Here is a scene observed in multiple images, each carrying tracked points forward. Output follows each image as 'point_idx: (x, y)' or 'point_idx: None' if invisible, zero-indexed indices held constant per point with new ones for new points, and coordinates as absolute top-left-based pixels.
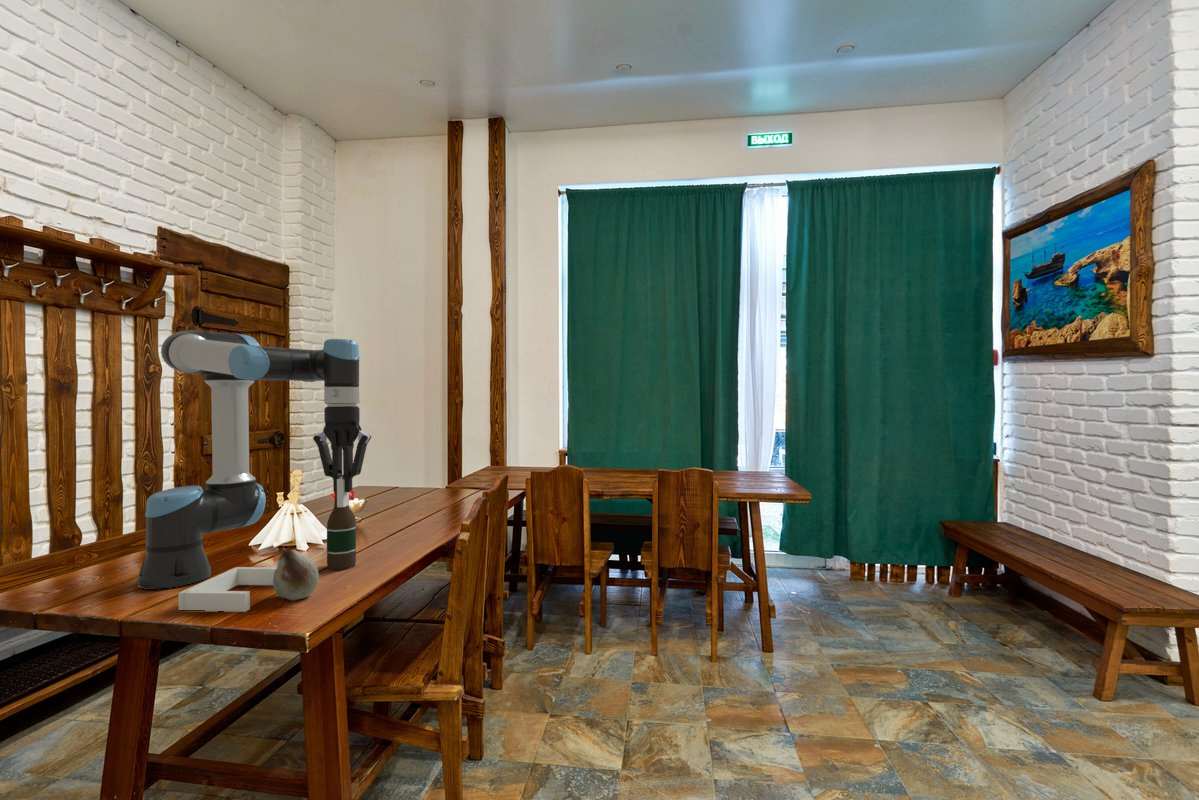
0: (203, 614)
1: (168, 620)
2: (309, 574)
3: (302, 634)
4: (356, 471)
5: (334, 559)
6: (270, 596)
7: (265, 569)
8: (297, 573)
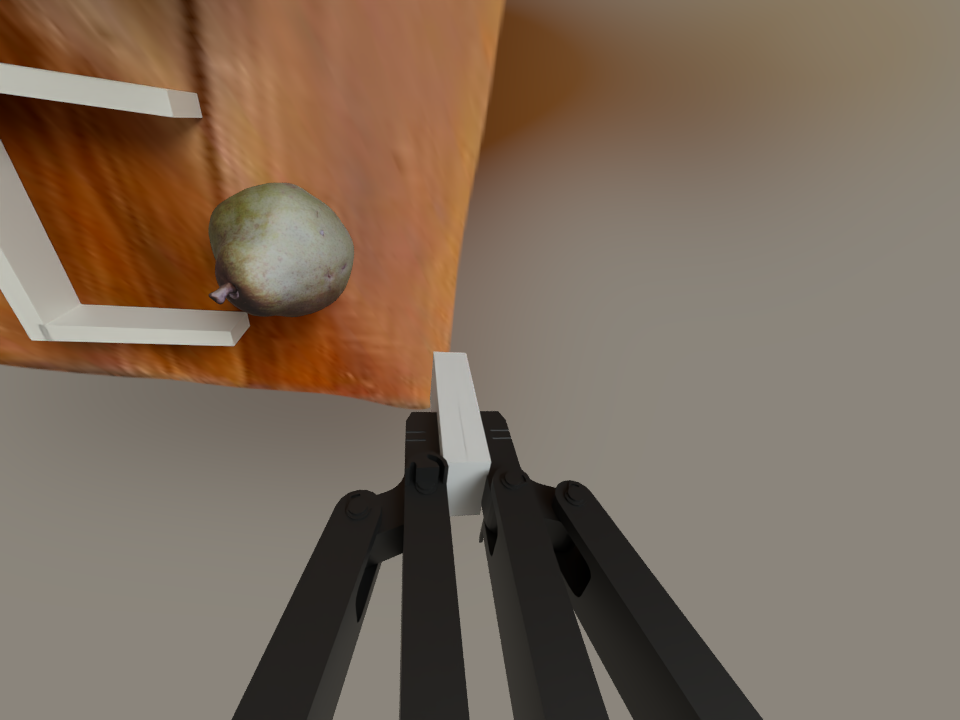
0: None
1: (114, 364)
2: (342, 282)
3: None
4: (580, 554)
5: None
6: None
7: (53, 99)
8: (320, 307)
